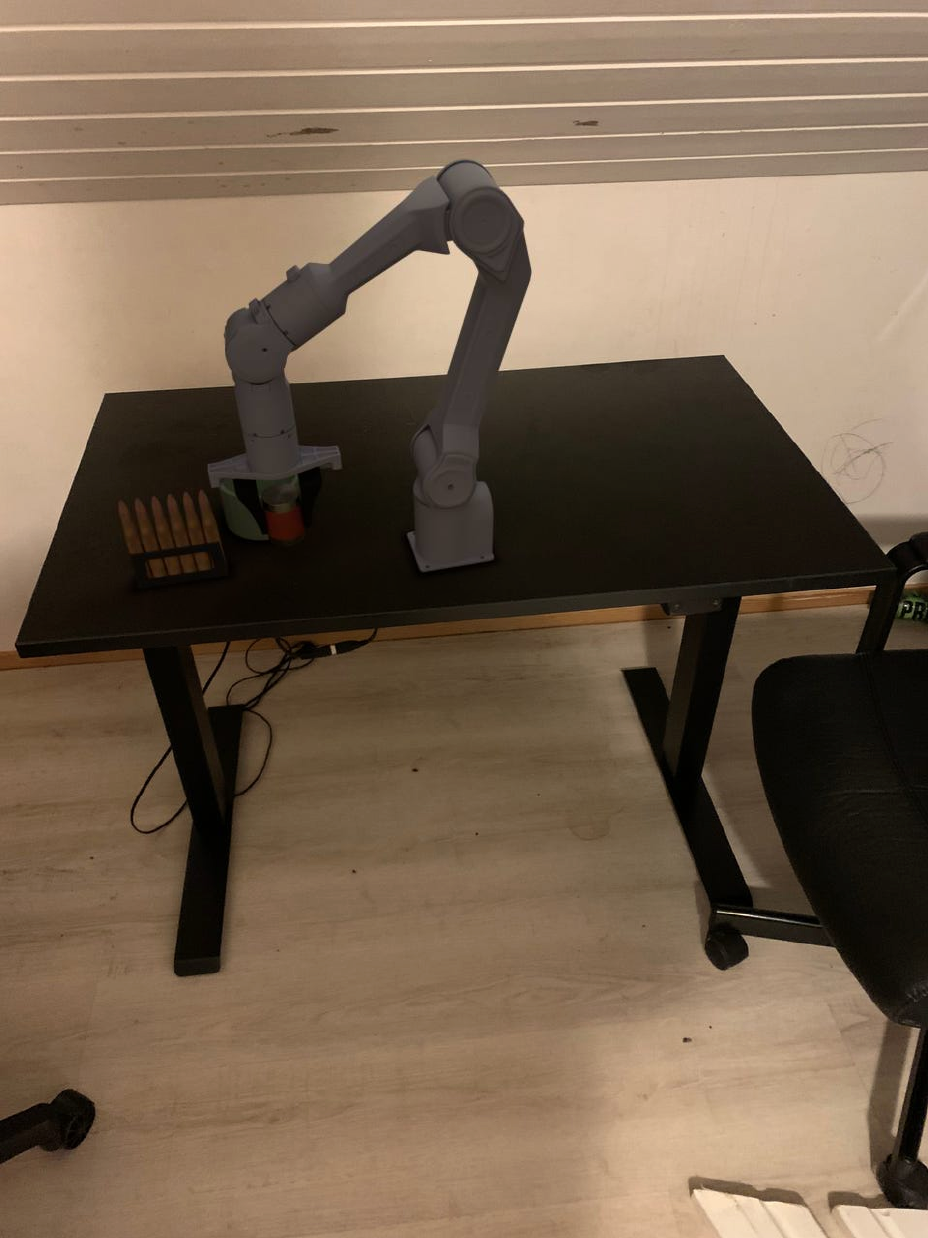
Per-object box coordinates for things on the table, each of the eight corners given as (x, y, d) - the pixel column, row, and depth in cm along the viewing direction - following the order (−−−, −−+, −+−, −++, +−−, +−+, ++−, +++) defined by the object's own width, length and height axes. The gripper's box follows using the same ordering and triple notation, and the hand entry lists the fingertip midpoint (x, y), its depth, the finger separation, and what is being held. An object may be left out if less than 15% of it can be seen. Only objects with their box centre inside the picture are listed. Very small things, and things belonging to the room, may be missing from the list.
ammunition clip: (228, 565, 107) (209, 484, 99) (229, 575, 106) (209, 493, 98) (138, 579, 105) (111, 497, 97) (138, 588, 104) (110, 506, 96)
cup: (300, 489, 119) (294, 448, 115) (311, 533, 112) (305, 491, 108) (224, 500, 117) (214, 459, 113) (229, 546, 110) (219, 503, 106)
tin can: (303, 522, 105) (296, 480, 101) (308, 543, 102) (301, 501, 98) (266, 528, 104) (258, 486, 100) (270, 550, 101) (262, 507, 97)
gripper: (329, 397, 97) (341, 497, 106) (197, 414, 94) (221, 516, 104) (339, 428, 92) (351, 531, 101) (200, 448, 89) (225, 551, 99)
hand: (285, 526), depth 102 cm, fingers closed on tin can, 4 cm apart
